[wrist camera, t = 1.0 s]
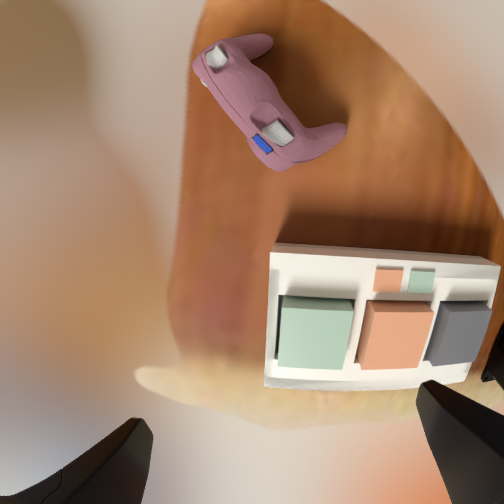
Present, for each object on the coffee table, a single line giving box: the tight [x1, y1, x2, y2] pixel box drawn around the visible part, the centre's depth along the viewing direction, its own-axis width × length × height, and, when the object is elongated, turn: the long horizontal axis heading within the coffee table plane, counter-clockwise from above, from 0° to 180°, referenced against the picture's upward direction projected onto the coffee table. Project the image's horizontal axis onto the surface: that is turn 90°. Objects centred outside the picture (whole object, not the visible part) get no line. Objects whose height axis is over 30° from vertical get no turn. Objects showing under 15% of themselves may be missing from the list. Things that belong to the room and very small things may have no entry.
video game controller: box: [192, 33, 347, 172], centre depth 15 cm, size 10×5×7 cm, turn 35°
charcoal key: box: [425, 300, 493, 366], centre depth 15 cm, size 4×4×2 cm
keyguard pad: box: [264, 243, 501, 391], centre depth 17 cm, size 17×10×3 cm, turn 89°
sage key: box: [277, 295, 354, 370], centre depth 17 cm, size 4×4×2 cm
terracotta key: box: [357, 299, 434, 370], centre depth 16 cm, size 4×4×2 cm
